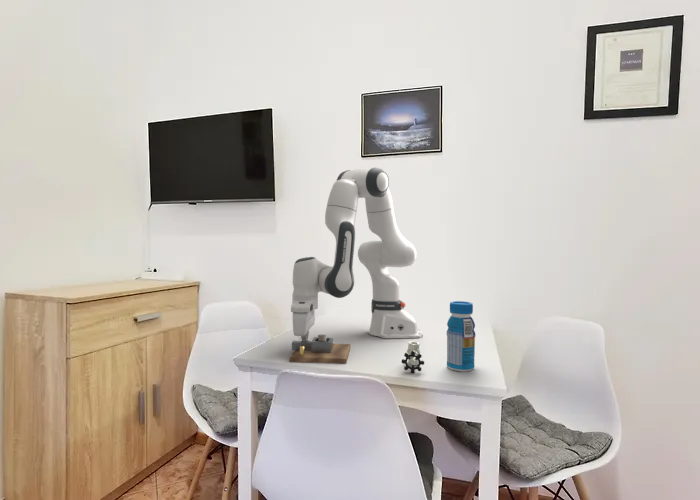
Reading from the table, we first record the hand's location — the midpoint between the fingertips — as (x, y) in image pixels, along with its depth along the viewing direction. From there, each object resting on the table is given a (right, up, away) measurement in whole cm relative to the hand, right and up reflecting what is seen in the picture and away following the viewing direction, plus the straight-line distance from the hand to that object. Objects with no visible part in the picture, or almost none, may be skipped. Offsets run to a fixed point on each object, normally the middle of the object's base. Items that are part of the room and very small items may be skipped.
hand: (304, 343), depth 137 cm
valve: (+35, -4, -17) cm, 39 cm away
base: (+6, -3, -4) cm, 8 cm away
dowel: (0, -3, -11) cm, 11 cm away
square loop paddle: (+3, -1, -4) cm, 5 cm away
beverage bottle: (+50, -4, -18) cm, 53 cm away
